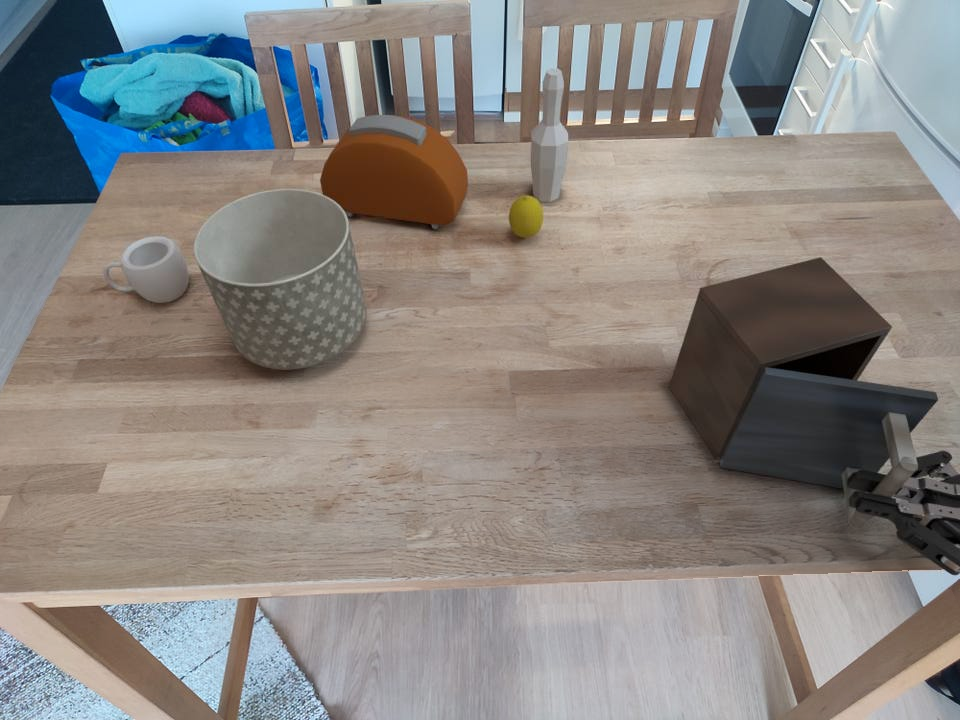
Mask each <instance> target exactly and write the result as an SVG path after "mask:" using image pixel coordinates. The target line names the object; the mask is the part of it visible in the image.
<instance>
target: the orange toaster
mask: <svg viewBox="0 0 960 720" xmlns="http://www.w3.org/2000/svg"><path fill="white" fill-rule="evenodd" d="M463 161H464V160H463V159H462V157H461V155H460V153H459V152H458V151H457V149H456V148H455V147H454V145H453V144H452V143H451V142H450V140H449V139H448V138H447V137H445V136H444V135H442V133H440V132H438V130H437V129H435V128H433V127H431V126H429V125H428V124H426V123H424V122H423V121H421V120H418V119H414V118H409V117H407V116H406V117H405V116H402V115H398V114H397V115H396V114H375V115H374V114H373V115H371V114H370V115H366V116H360V117H357V118H356V119H355V120H354V122H353V124H352V125H351V126H350V127H349V128H348V129H347V130H346V131H345V132H344V134H343V135H342V137H341V138H340V140H339V141H338V142H337V144H336V145H335V146H334V148H333V149H332V151H331V152H330V153H329V155H328V157H327V159H326V160H325V162H324V164H323V167H322V170H321V174H320V178H319V183H320V187H321V193H322V195H324V196H326V197H329V198H330V199H332V200H334V201H335V202H336V203H337V204H339V205H340V206H341V207H342V209H343V210H344V212H345V213H346V215H347V217H353V216H354V215H355V214H356V215H357V214H358V215H365V216H372V217H378V218H386V219H393V220H400V221H406V222H413V223H421V224H427V225H431V228H432V229H434V230H438V228H439V226H444V227H446V226H448V225H450V224H453V223H454V222H455V221H456V218H457V216H458V214H459V212H460V210H461V207H462V205H463V203H464V201H465V199H466V196H467V193H468V189H469V177H468V169H467V167H466V164H465V163H464V162H463Z"/></svg>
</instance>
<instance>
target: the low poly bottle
mask: <svg viewBox="0 0 960 720" xmlns="http://www.w3.org/2000/svg"><path fill="white" fill-rule="evenodd" d="M564 90H565V82H564V77H563V72H562V70H561V69H560V68H552V67H551V68H549V69H547V70H546V71H545V75H544V78H543V80H542V103H543V104H542V119H541V120H540V122H539V123H538V124H536V125H535V127H534V128H533V129H532V130H531V137H530V138H531V140H530V169H531V170H530V172H531V183H532V193H533V194H532V195H533V196H532V197H534V198H536V199H537V200H538V201H539V202H544V203H545V202H546V203H547V202H549V203H550V202H553V201H556V200H557V199H559V198H560V193H561V189H562V185H563V180H564V176H565V172H566V167H567V161H568V153H569V152H568V151H569V150H568V149H569V132H568V131H567V129H566V128H565V127H564V125H563V124H562V122H561V109H562V102H563V101H562V100H563V97H564Z"/></svg>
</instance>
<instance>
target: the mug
mask: <svg viewBox="0 0 960 720" xmlns="http://www.w3.org/2000/svg"><path fill="white" fill-rule="evenodd" d="M112 268H121V270H122V273H123V275H124V277H125V278H126V280H127V282H128V283H129V285H130V286H122V285H119V284H117V283H116V282H115V281H113V279H112V278H111V276H110V269H112ZM102 272H103V277H104V280H105V281H106V283H108V285H109V286H110V287H111V288H113V289H115V290H117V291H120V292H132V291H134V292H136V293H137V294H139V295H140V296H141V297H142V298H144V299H145V300H147V301H148V302H152V303H155V304H156V303H157V304H167V303H169V302H173V301H175V300H177V299H179V298H180V297H181V296H183V294H184V293H185V292H186V290H187V288H188V286H189V279H190V277H189V269H188V265H187V262H186V260H185V257H184V255H183V253H182V251H181V250H180V248H179V247H178V246H177V244H176V243H175V242H173V241H172V240H171V239H169V238H167V237H164V236H157V235H155V236H154V235H153V236H148V237H143V238H140V239H138V240H135V241H134V242H132V243H131V244H129V245H127V247H125V249H123V251H122V252H121V255H120V261H112V262H109V263H107V264H106V265H105V266H104V267H103V271H102Z"/></svg>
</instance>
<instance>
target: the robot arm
mask: <svg viewBox="0 0 960 720" xmlns="http://www.w3.org/2000/svg"><path fill="white" fill-rule="evenodd" d="M916 459H917V463H918V469H917V470H916V471H915V472H914V473H913V474H912V475H911V477H910V478H909V479H908V480H907V481H906V482H905V483H904V484H903V485H902V486H901V487H900V489H899V490H898V491H897V492H896V493H895V494H894V495H893V496H892V497H891V498H890V497H886V496H881V495H877V494H872V493H871V492H872V491H873V490H874V489H875V487H876V486H877V485H878V484H879V483H880V482H881V480H882V479H883V478H884V477H885V476H886V475H887V474H885V473H881V472H877V473H876V472H871V471H867V470H858V471H857V472H854V473H852V474H851V476H850V477H849V478H848V479H847V486H848V488H850V489H855V490H860V491H855V492H854V493H853V494H852V495H851V496H850V498H849V506H850V507H852V508H856V511H858V512H860V513H863V514H868V515H872V516H874V517H875V518H876V517H877V518H881V519H885V520H888V521H889V522H890V523H891V524H893V525H894V527H895V529H896V530H897V531H896V532H895V536H896V538H897V539H898V540H899V541H900V542H902V543H904V544H905V545H906V546H908V547H910V548H911V549H913V550H914V551H916V552H917V553H919V554H920V555H921V556H923V557H924V558H926V559H927V560H929V561H930V562H931V563H933V564H935V565H936V566H938V567H939V568H941V569H942V570H944V571H945V572H947V573H948V574H950V575H951V576H958V575H960V473H959V472H958V471H957V470H956V469H955V468H954V466H953V465H952V463H951V461H952V459H953V455H952V454H951V453H950V452H949V451H947V450H940V451H936V452H933V453H929V454H925V455H921V456H916ZM926 476H928V477H929V478H928V477H926ZM934 478H935V479H934ZM939 478H941V479H942V480H936V479H939ZM863 491H864V492H863ZM897 499H900V500H903V501H899V502H897Z"/></svg>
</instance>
